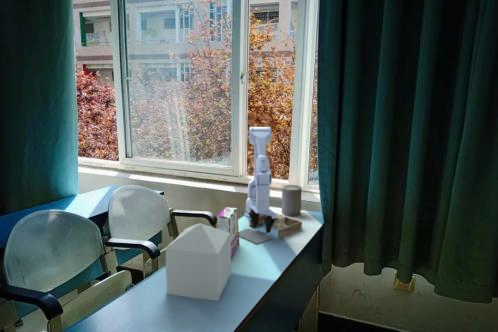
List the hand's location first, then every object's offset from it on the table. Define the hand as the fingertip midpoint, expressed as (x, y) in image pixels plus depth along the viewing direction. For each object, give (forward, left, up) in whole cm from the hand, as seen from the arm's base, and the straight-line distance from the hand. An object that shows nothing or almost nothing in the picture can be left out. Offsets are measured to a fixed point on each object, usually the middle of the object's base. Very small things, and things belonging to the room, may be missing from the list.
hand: (261, 230), depth 150 cm
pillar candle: (-8, +30, -2) cm, 31 cm away
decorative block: (+15, -44, -2) cm, 47 cm away
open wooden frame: (0, +9, -1) cm, 9 cm away
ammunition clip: (-3, -17, -2) cm, 17 cm away
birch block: (0, +11, -2) cm, 11 cm away
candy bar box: (+5, -24, -2) cm, 25 cm away
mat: (0, -6, -1) cm, 6 cm away
